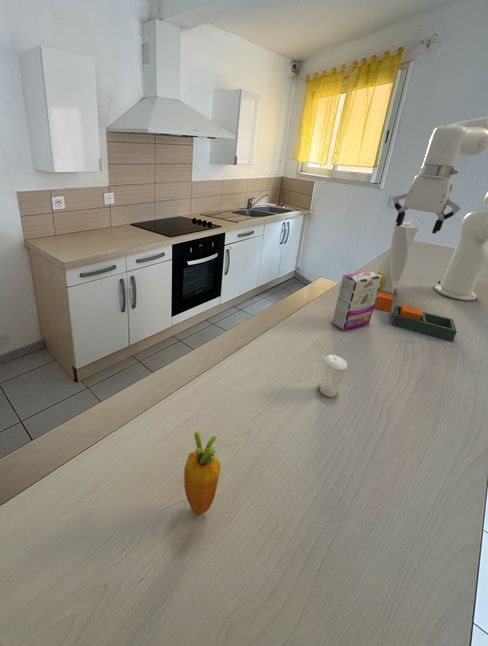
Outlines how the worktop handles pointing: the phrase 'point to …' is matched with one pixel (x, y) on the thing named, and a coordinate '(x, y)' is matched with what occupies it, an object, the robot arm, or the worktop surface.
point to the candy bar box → (356, 299)
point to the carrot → (201, 476)
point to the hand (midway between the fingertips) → (416, 229)
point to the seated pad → (410, 312)
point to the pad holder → (426, 324)
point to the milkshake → (332, 374)
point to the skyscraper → (397, 255)
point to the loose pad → (384, 301)
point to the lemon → (381, 281)
